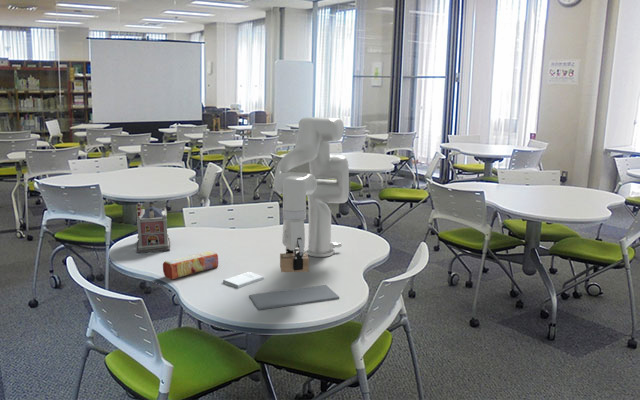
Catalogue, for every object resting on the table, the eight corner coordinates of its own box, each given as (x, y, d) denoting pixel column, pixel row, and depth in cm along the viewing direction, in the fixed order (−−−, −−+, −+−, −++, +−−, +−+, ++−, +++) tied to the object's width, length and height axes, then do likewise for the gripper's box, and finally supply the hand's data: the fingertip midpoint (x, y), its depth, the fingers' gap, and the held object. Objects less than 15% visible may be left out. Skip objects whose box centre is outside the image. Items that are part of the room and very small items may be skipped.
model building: (137, 241, 249) (134, 197, 244) (170, 239, 253) (167, 196, 248) (135, 253, 231) (133, 207, 227) (170, 251, 235) (168, 205, 231)
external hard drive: (223, 283, 200) (248, 275, 209) (238, 289, 195) (263, 280, 204) (223, 279, 200) (248, 270, 209) (238, 285, 195) (263, 275, 204)
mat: (325, 286, 197) (326, 284, 197) (339, 298, 187) (339, 296, 186) (249, 296, 187) (249, 294, 187) (258, 310, 176) (258, 308, 176)
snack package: (210, 264, 220) (209, 247, 219) (220, 268, 216) (219, 251, 214) (162, 277, 205) (161, 259, 204) (171, 281, 201) (171, 264, 199)
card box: (280, 266, 187) (280, 253, 186) (306, 265, 188) (306, 252, 187) (281, 272, 181) (281, 258, 180) (308, 271, 182) (308, 257, 181)
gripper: (275, 209, 187) (275, 259, 191) (292, 221, 171) (291, 275, 175) (296, 207, 190) (296, 257, 194) (314, 219, 174) (314, 273, 178)
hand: (294, 265), depth 184 cm, fingers closed on card box, 6 cm apart
